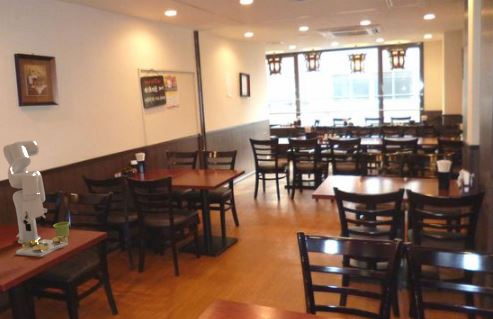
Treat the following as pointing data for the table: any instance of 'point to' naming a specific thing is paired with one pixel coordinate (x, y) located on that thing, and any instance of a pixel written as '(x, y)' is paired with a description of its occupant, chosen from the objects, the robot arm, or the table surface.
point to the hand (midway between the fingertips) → (36, 228)
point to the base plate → (40, 253)
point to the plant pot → (62, 229)
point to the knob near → (29, 243)
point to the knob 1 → (41, 247)
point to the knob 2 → (60, 239)
